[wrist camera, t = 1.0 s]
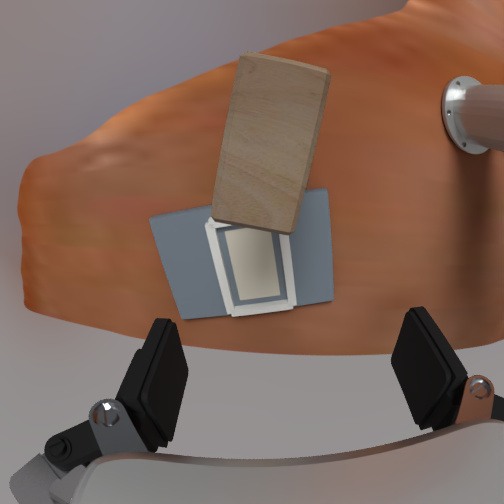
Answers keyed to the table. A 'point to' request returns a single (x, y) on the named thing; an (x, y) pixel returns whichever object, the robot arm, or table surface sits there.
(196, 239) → the board
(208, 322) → the table surface
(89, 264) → the table surface
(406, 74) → the table surface
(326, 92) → the decorative block
